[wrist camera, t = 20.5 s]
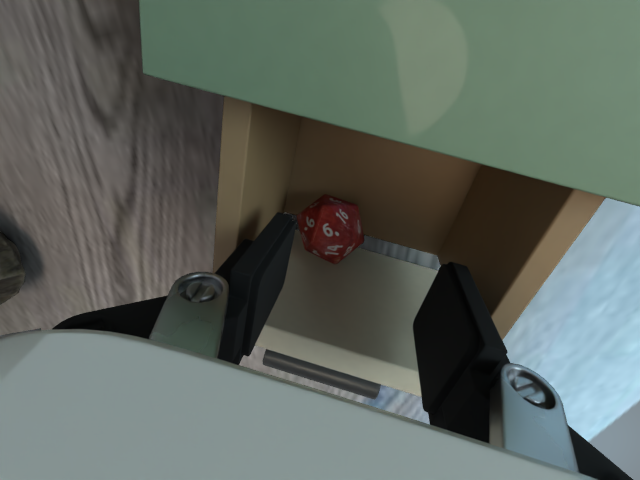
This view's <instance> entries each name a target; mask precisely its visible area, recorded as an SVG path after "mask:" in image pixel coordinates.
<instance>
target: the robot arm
mask: <svg viewBox="0 0 640 480" xmlns="http://www.w3.org/2000/svg"><path fill="white" fill-rule="evenodd" d="M296 224H297V222H296V221H292V216H289V215H285V214H282V213H278V212H277V213H276V214H275V216H274V217H273V218H272V219H271V221H270V222H269V223H268V224H267V226H266V227H265V228H264V229H263V230H262V232H261V233H260V234H259V235H258V237H257V238H256V239H255V240H254V241H252V240H249V239H245V240H243V241H242V242H241V244H240V245H239V246H238V247H237V248H236V249H235V250H234V252H233V253H232V254H231V255H230V256H229V257H228V258H227V259H226V261H225V262H224V263H223V264H222V265H221V266H220V267H219V269H218V270H217V271H216V272H215V273H209V272H194V273H189V274H186V275H184V276H182V277H180V278H179V279H177V280H176V281H175V282H174V284H173V285H172V287H171V290H170V292H169V294H168V296H164V297H159V298H154V299H149V300H145V301H140V302H135V303H130V304H125V305H121V306H116V307H111V308H106V309H101V310H97V311H92V312H87V313H83V314H79V315H76V316H73V317H71V318H68V319H66V320H64V321H62V322H61V323H59V324H58V325H57V326H55V327H54V328H53V329H52V330H42V331H41V328H40V329H34V330H28V331H23V332H17V333H11V334H6V335H0V480H633V479H632V478H631V477H629V476H628V475H627V474H626V473H625V472H623V471H622V470H621V469H620V468H619V467H617V466H616V465H615V464H614V463H613V462H611V461H610V460H609V459H608V458H606V457H605V456H604V455H603V454H602V453H601V452H599V451H598V450H597V449H596V448H595V447H593V446H592V445H591V444H590V443H589V442H587V441H586V440H585V439H584V438H583V437H581V436H580V435H579V434H578V433H577V432H576V431H574V430H573V429H572V428H571V427H570V426H568V424H567V420H566V416H565V412H564V408H563V404H562V401H561V399H560V397H559V395H558V394H557V392H556V391H555V389H554V388H553V387H552V386H551V385H550V384H549V383H548V382H547V381H546V380H545V379H544V378H542V377H541V376H540V375H539V374H537V373H536V372H534V371H532V370H531V369H529V368H527V367H524V366H522V365H519V364H513V363H510V362H509V359H508V357H507V355H506V354H507V350H506V347H505V345H504V343H503V341H502V339H501V337H500V335H499V333H498V330H497V328H496V326H495V324H494V322H493V320H492V318H491V316H490V314H489V311H488V309H487V307H486V305H485V303H484V301H483V299H482V297H481V294H480V292H479V290H478V288H477V286H476V284H475V282H474V280H473V278H472V275H471V273H470V271H469V269H468V267H467V266H465V265H461V264H458V263H454V262H449V263H448V264H442V265H441V267H440V269H439V271H438V273H437V275H436V277H435V279H434V281H433V283H432V285H431V287H430V289H429V291H428V293H427V295H426V297H425V299H424V301H423V303H422V305H421V307H420V309H419V311H418V313H417V315H416V317H415V319H414V322H413V334H414V341H415V349H416V357H417V365H418V372H419V380H420V388H421V396H422V403H423V409H424V411H426V412H428V414H429V421H430V425H429V424H426V423H423V422H420V421H417V420H413V419H410V418H407V417H404V416H401V415H397V414H394V413H391V412H388V411H385V410H382V409H378V408H375V407H372V406H369V405H366V404H362V403H359V402H356V401H353V400H350V399H346V398H343V397H340V396H337V395H334V394H330V393H327V392H324V391H321V390H318V389H314V388H311V387H308V386H305V385H301V384H298V383H295V382H292V381H288V380H285V379H282V378H279V377H275V376H272V375H269V374H266V373H262V372H259V371H256V370H253V369H249V368H246V367H243V366H240V365H239V363H240V361H241V359H242V357H243V355H246V356H249V355H250V354H251V352H252V350H253V348H254V346H255V344H256V342H257V340H258V337H259V335H260V333H261V331H262V329H263V327H264V325H265V323H266V321H267V319H268V317H269V315H270V313H271V311H272V309H273V307H274V304H275V302H276V300H277V298H278V296H279V294H280V292H281V290H282V288H283V285H284V282H285V277H286V272H287V268H288V263H289V258H290V253H291V248H292V244H293V239H294V234H295V229H296ZM236 364H237V365H236Z"/></svg>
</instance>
